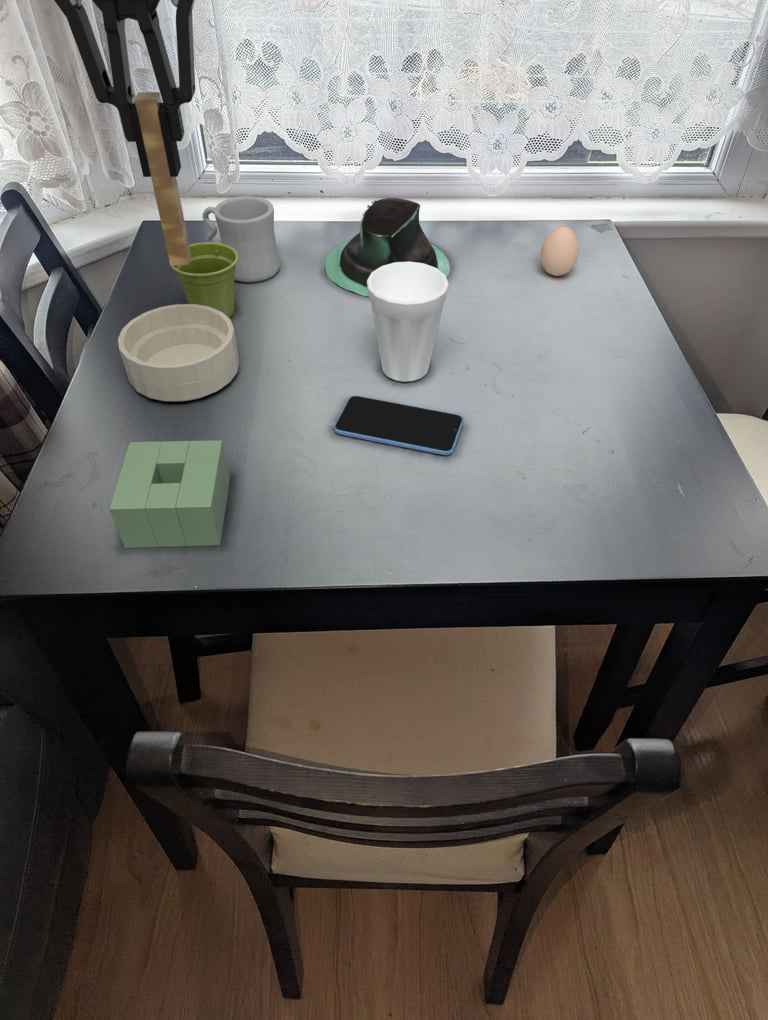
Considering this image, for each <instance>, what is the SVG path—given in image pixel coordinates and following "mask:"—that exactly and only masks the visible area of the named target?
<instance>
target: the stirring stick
mask: <svg viewBox="0 0 768 1020" xmlns="http://www.w3.org/2000/svg"><path fill="white" fill-rule="evenodd" d="M133 100H134V103H135V105H136V110H137V114H138V119H139V123H140V128H141V132H142V137H143V142H144V146H145V151H146V155H147V160H148V165H149V169H150V174H151V177H150V178H151V183H152V187H153V192H154V196H155V201H156V206H157V210H158V215H159V216H158V217H159V220H160V224H161V229H162V235H163V237H164V238H163V239H164V243H165V247H166V252H167V256H168V262H169V261H170V263H169V265H171V266H184V265H189V263H190V260H191V252H190V247H189V245H190V241H189V237H188V236H189V235H188V232H187V226H186V221H185V215H184V211H183V205H182V201H181V196H180V190H179V186H178V180H177V177H170V172H169V166H168V161H167V156H166V151H165V146H164V141H163V136H162V131H161V126H160V121H159V116H158V110H159V108H160V106H161V104H162V102H163V101H162V97H161V94H160V91H150V92H149V91H147V92H146V91H141V92H138V93H137V94H136V95H135V96H134V98H133ZM171 266H170V267H171Z"/></svg>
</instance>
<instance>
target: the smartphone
mask: <svg viewBox="0 0 768 1020" xmlns="http://www.w3.org/2000/svg"><path fill="white" fill-rule="evenodd" d="M463 426H464V417H462V416H461V415H459V414H455V413H450V412H445V411H440V410H435V409H429V408H425V407H419V406H418V407H417V406H413V405H408V404H402V403H397V402H392V401H386V400H381V399H377V398H370V397H365V396H360V395H352V396H349V398H348V399H347V400H346V402H345V404H344V406H343V408H342V409H341V412H340V414H339V416H338V417H337V419H336V421H335V423H334V426H333V430H334V432H335V433H336V434H337V435H341V436H345V437H351V438H355V439H360V440H366V441H369V442H374V443H375V442H376V443H381V444H386V445H391V446H396V447H402V448H405V449H411V450H414V451H415V450H416V451H420V452H425V453H431V454H436V455H441V456H449V455H451V454H453V452H454V450H455V448H456V445H457V442H458V440H459V437H460V435H461V431H462V428H463Z"/></svg>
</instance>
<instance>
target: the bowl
mask: <svg viewBox="0 0 768 1020" xmlns="http://www.w3.org/2000/svg"><path fill="white" fill-rule="evenodd" d="M117 343H118V350H119V353H120V356H121V360H122V362H123V366H124V369H125V373H126V376H127V379H128V382H129V384H130V385H131V387H133V388H134V390H135V391H136V392H137V393H139V394H141V395H143V396H145V397H147V398H148V399H152V400H157V401H161V402H187V401H193V400H198V399H201V398H204V397H207V396H209V395H212V394H214V393H217V392H219V391H220V390H221V389H223V388H224V387H225V386H227V385H228V384H229V383H231V382H232V380H233V379H234V378H235V377H236V375H237V374H238V371H239V368H240V367H239V366H240V357H239V351H238V343H237V338H236V332H235V327H234V325H233V322H232V319H231V318H228V317H227V316H226V315H225V314H224V313H223V312H221V311H218V310H216V309H214V308H211V307H208V306H203V305H197V304H188V303H182V304H181V303H176V304H170V305H164V306H159V307H157V308H154V309H153V308H152V309H150V310H147V311H145V312H143V313H141V314H139V315H137V316H136V317H133V319H131V320H130V321H129V322H128V323H127V324H125V326H124V327H123V328H121V331H120V333H119V336H118V338H117Z"/></svg>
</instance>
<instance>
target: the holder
mask: <svg viewBox="0 0 768 1020" xmlns="http://www.w3.org/2000/svg"><path fill="white" fill-rule="evenodd" d="M223 443H224V442H223V440H222V439H215V440H168V441H130V442H129V443H128V445H127V449H126V451H125V452H126V453H125V455H124V459H123V462H122V466H121V469H120V472H119V476H118V479H117V483H116V486H115V489H114V492H113V495H112V499H111V502H110V506H109V512H110V515H111V517H112V520H113V522H114V525H115V528H116V530H117V532H118V535H119V538H120V540H121V543H122V545H123V548H124V549H139V548H141V549H144V548H175V547H176V548H177V547H181V548H182V547H207V546H208V547H209V546H210V547H212V546H213V547H214V546H221V543H222V537H223V530H224V524H225V517H226V516H225V515H226V510H227V504H228V498H229V497H228V496H229V490H230V483H231V476H230V471H229V467H228V462H227V458H226V453H225V447H224V444H223Z"/></svg>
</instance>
